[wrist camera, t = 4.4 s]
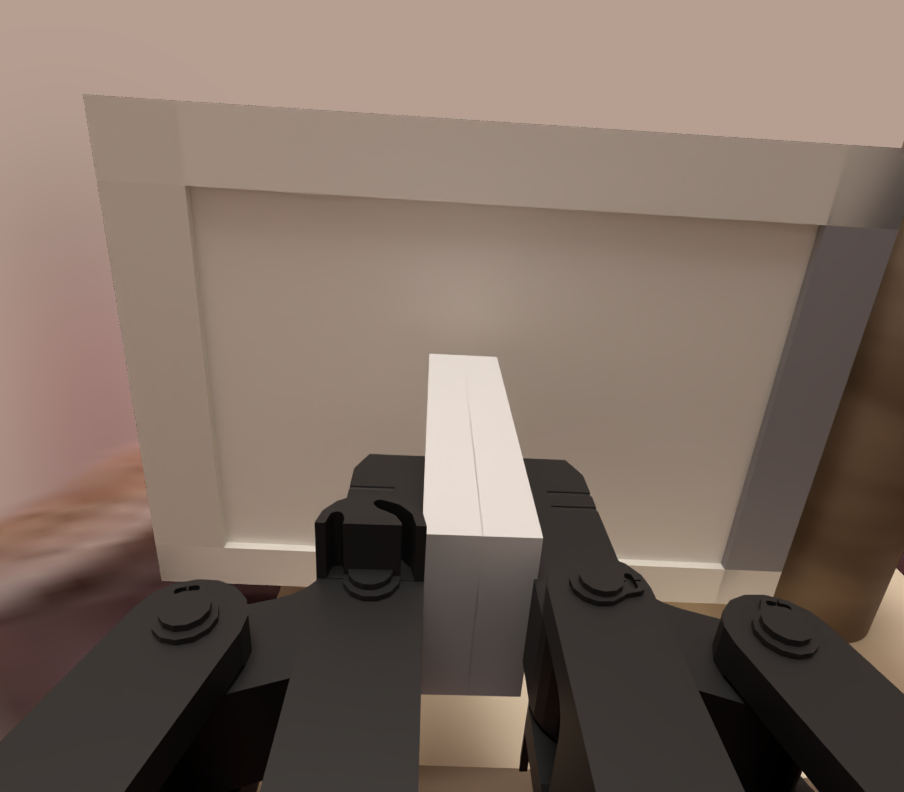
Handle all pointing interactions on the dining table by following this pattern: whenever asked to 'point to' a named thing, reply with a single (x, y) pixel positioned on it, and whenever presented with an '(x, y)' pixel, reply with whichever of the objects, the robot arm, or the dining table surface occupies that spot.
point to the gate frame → (803, 576)
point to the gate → (484, 318)
